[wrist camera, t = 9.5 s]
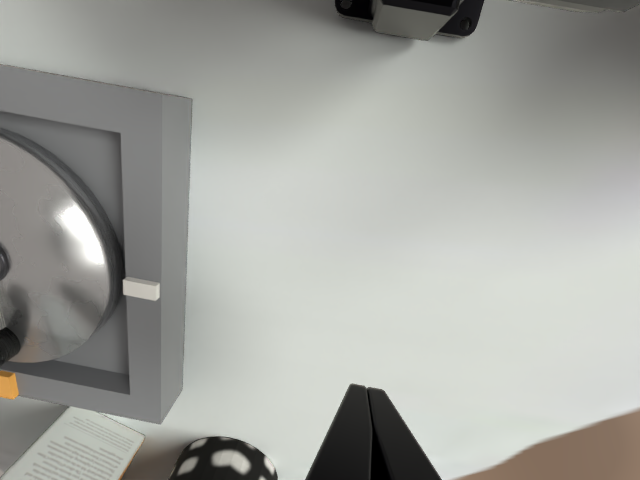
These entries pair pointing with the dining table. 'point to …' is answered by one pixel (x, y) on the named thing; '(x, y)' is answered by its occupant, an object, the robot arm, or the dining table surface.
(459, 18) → the robot arm
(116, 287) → the dial
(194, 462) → the spotted tube
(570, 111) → the dining table surface
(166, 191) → the grey square tray
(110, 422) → the small box
